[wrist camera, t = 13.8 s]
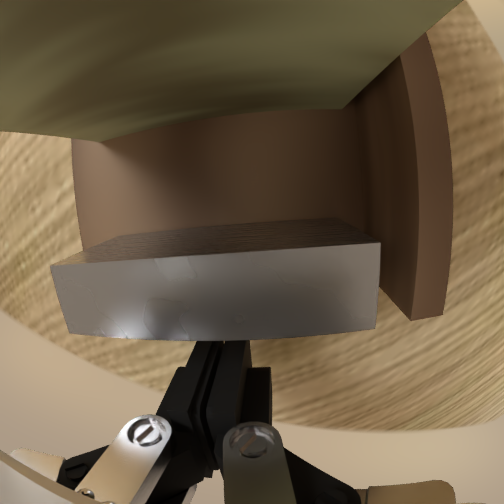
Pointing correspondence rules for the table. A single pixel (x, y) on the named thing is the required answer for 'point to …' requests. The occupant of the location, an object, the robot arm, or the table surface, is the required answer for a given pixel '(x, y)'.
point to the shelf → (245, 119)
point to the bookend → (224, 282)
